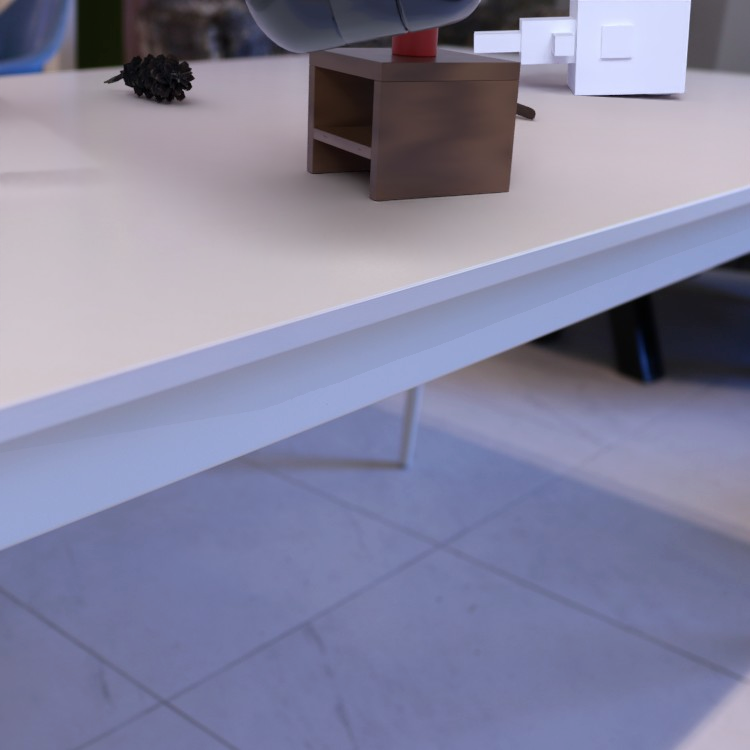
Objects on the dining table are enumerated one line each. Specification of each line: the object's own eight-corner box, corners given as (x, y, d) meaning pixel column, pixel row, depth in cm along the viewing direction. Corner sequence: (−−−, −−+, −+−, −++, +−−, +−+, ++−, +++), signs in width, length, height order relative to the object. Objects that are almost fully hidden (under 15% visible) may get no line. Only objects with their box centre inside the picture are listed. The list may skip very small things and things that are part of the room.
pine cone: (212, 108, 110) (212, 56, 108) (169, 110, 107) (168, 57, 105) (135, 88, 123) (133, 41, 121) (94, 89, 120) (92, 41, 118)
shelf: (376, 201, 71) (382, 62, 68) (306, 171, 80) (309, 47, 77) (509, 191, 76) (521, 62, 73) (429, 164, 85) (437, 48, 82)
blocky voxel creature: (475, 88, 157) (666, 83, 155) (473, 108, 134) (698, 104, 131) (475, -17, 152) (673, -24, 149) (473, -15, 129) (707, -23, 126)
